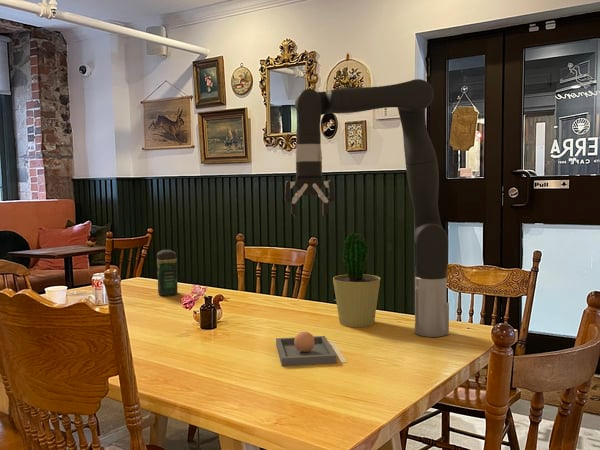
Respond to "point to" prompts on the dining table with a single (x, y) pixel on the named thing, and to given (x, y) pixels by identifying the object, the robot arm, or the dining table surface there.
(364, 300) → the potted cactus
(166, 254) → the coffee jar
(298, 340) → the ball
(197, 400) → the dining table surface
